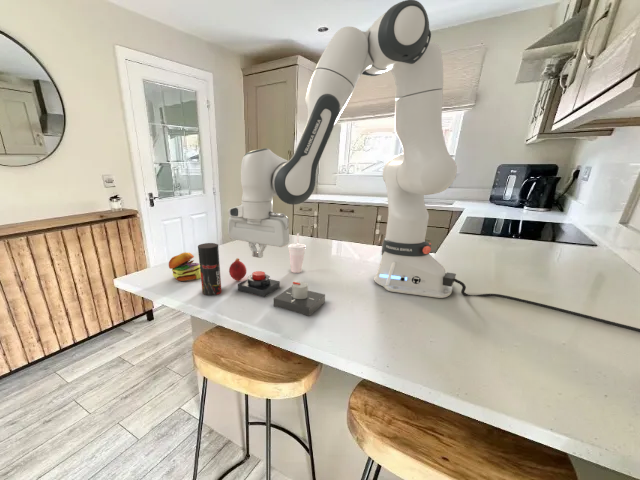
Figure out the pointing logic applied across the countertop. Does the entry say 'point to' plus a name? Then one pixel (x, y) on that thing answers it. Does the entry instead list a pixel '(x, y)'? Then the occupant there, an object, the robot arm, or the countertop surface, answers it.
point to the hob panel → (299, 302)
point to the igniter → (259, 286)
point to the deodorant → (209, 269)
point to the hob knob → (299, 290)
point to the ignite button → (258, 275)
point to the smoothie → (296, 255)
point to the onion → (237, 270)
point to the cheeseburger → (184, 267)
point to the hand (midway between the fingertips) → (257, 257)
